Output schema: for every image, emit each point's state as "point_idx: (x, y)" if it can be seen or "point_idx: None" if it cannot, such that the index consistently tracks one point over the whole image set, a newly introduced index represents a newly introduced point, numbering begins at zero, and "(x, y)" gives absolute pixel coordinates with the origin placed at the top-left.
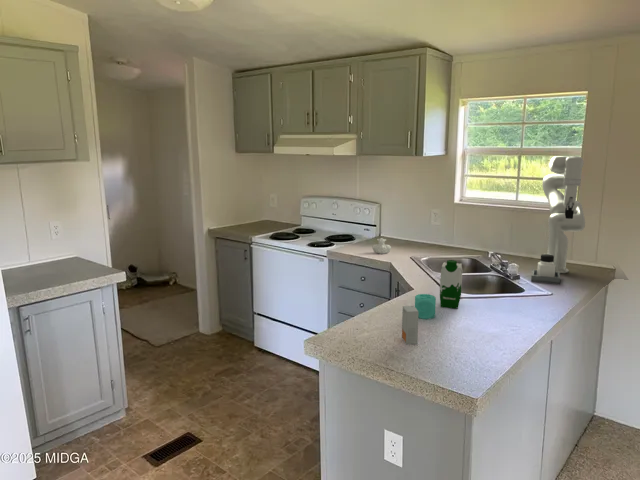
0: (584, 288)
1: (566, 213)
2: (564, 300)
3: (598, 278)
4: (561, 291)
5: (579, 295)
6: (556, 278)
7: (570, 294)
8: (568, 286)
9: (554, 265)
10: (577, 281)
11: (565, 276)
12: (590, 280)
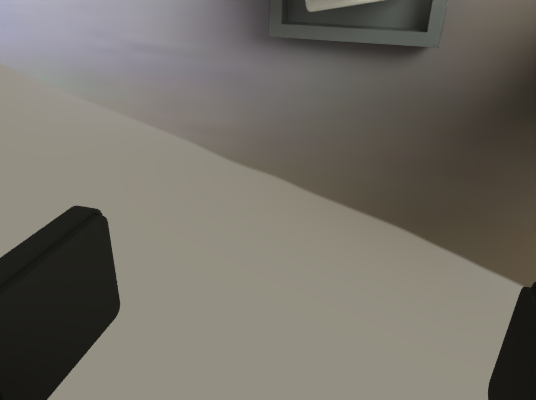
0: (243, 144)
1: (6, 265)
2: (11, 28)
3: (477, 250)
4: (141, 28)
5: (116, 102)
6: (269, 13)
7: (112, 65)
8: (250, 74)
9: (315, 3)
10: (375, 135)
11: (487, 85)
12: (419, 203)
